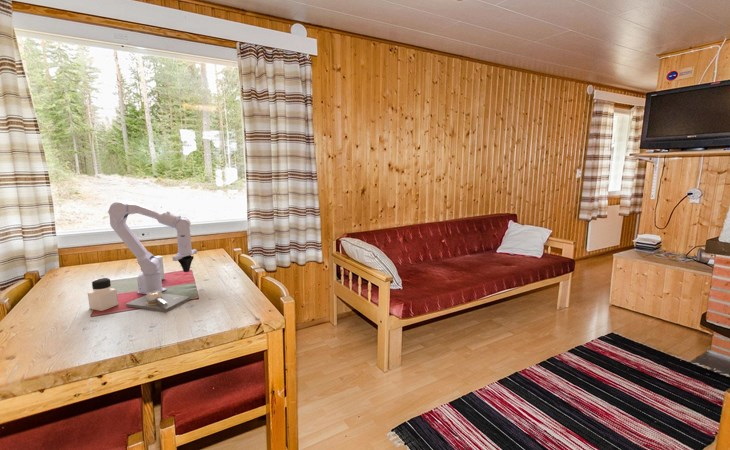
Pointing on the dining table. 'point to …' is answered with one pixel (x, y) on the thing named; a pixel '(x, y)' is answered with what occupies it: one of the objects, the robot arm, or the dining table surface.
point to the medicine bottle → (102, 295)
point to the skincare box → (161, 267)
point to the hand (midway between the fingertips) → (186, 271)
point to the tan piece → (156, 298)
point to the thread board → (170, 299)
